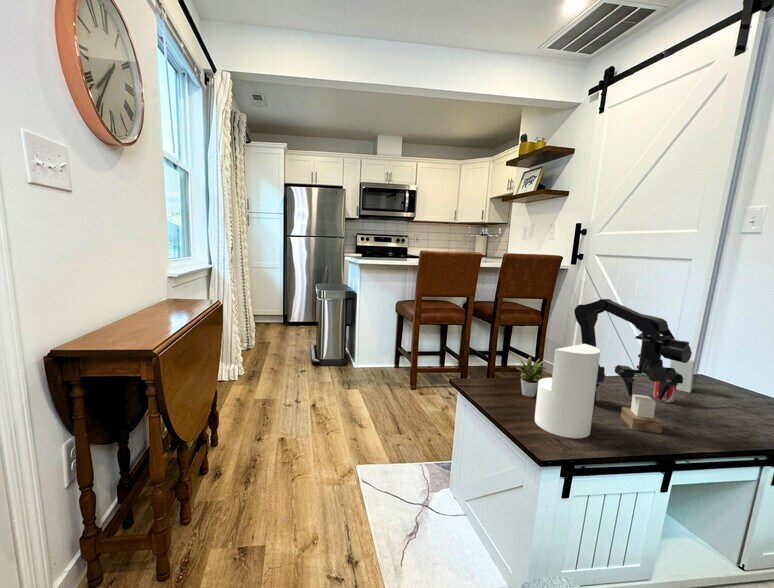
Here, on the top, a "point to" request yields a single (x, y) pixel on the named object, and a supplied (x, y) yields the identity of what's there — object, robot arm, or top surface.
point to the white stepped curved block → (569, 392)
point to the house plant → (530, 377)
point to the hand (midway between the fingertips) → (644, 397)
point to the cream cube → (643, 406)
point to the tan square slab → (641, 421)
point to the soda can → (668, 395)
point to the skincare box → (684, 374)
